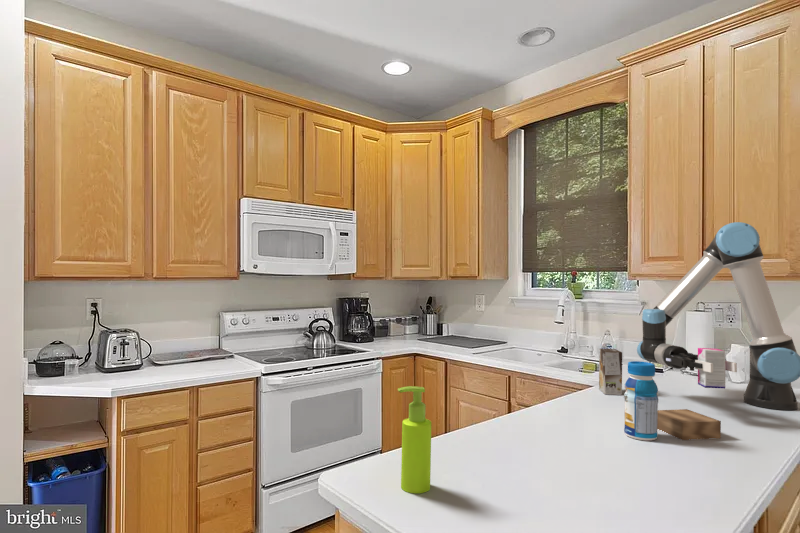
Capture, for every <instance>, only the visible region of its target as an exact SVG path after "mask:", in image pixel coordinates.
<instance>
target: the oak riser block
mask: <svg viewBox="0 0 800 533" xmlns="http://www.w3.org/2000/svg"><path fill="white" fill-rule="evenodd" d="M721 428H722V424H721V420H719V419H716V418H713V417H711V416H707V415H704V414H702V413H699V412H696V411H693V410H691V409H688V408H682V409H659V410H658V414H657V430H658V429H659V430H658V431H660V430H662V431H661V432H663V431H664V432H663V433H665V432H666V433H665V434H667V433H668V435H670V436H673V437H674V436H675V438H676V437H677V439H679V440H681V441H691V439H696V440H710V439H709V438H716V439H722V438H721V437H722V436H721V435H722V432H721V431H722V429H721ZM689 439H690V440H689Z"/></svg>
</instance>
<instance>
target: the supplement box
mask: <svg viewBox="0 0 800 533" xmlns="http://www.w3.org/2000/svg"><path fill="white" fill-rule="evenodd" d="M697 355H698V360H700V361H704V362H709V363H713V373H710V372H706V371H702V370H698V369H697V385H699V386H701V387H703V388H706V389H722V390H723V389H726V370H725V359H726V350H723V349H719V348H709V347H708V348H707V347H705V348H704V347H697Z"/></svg>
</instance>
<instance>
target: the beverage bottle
mask: <svg viewBox="0 0 800 533" xmlns="http://www.w3.org/2000/svg"><path fill="white" fill-rule="evenodd" d="M627 374H628V375H629V377H628V378H627V379H626V381H625V383H624V388H625V392H624V393H623V394H624V395H623V398H624V429H623V430H624V434H625V436H627V437H629V438H630V439H633V440H638V441H646V442H647V441H649V442H650V441H656V440H657V439H658V429H657V414H658V406H659V405H658V403H659V397H658V396H659V395H657V393H658V391H659V388H658V385H657V383H656V381H655V380H654V377H655V376H656V365H655V363H653V362H649V361H639V360H637V361H635V360H634V361H633V360H632V361H628V362H627Z"/></svg>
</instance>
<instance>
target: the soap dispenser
mask: <svg viewBox="0 0 800 533" xmlns="http://www.w3.org/2000/svg"><path fill="white" fill-rule="evenodd" d="M397 392H399V393H400V394H401V393H406V392H409V393H410V392H412V394H413V395H412V401H411V402H410V403H408V418H404V419H403V420H402V424H401V426H402V427H401V428H402V429H401V464H400V465H401V466H400V467H401V469H400V470H401V472H400V474H401V475H400V478H401V479H400V488H401V489H402V491H404V492H406V493H408V494H409V493H410V494H415V495H416V494H423V493H427V492H428V491H430V490H431V469H432V468H431V467H432V464H431V462H432V460H431V459H432V420H430V419H428V418H426V407H427V406H426V404H425V403H424V402H422V400H423V399H422V396H423V394H422V393H425V392H426V389H425V387H424V386H415V385H413V386H409V385H408V386H403V387H398V388H397Z"/></svg>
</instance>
